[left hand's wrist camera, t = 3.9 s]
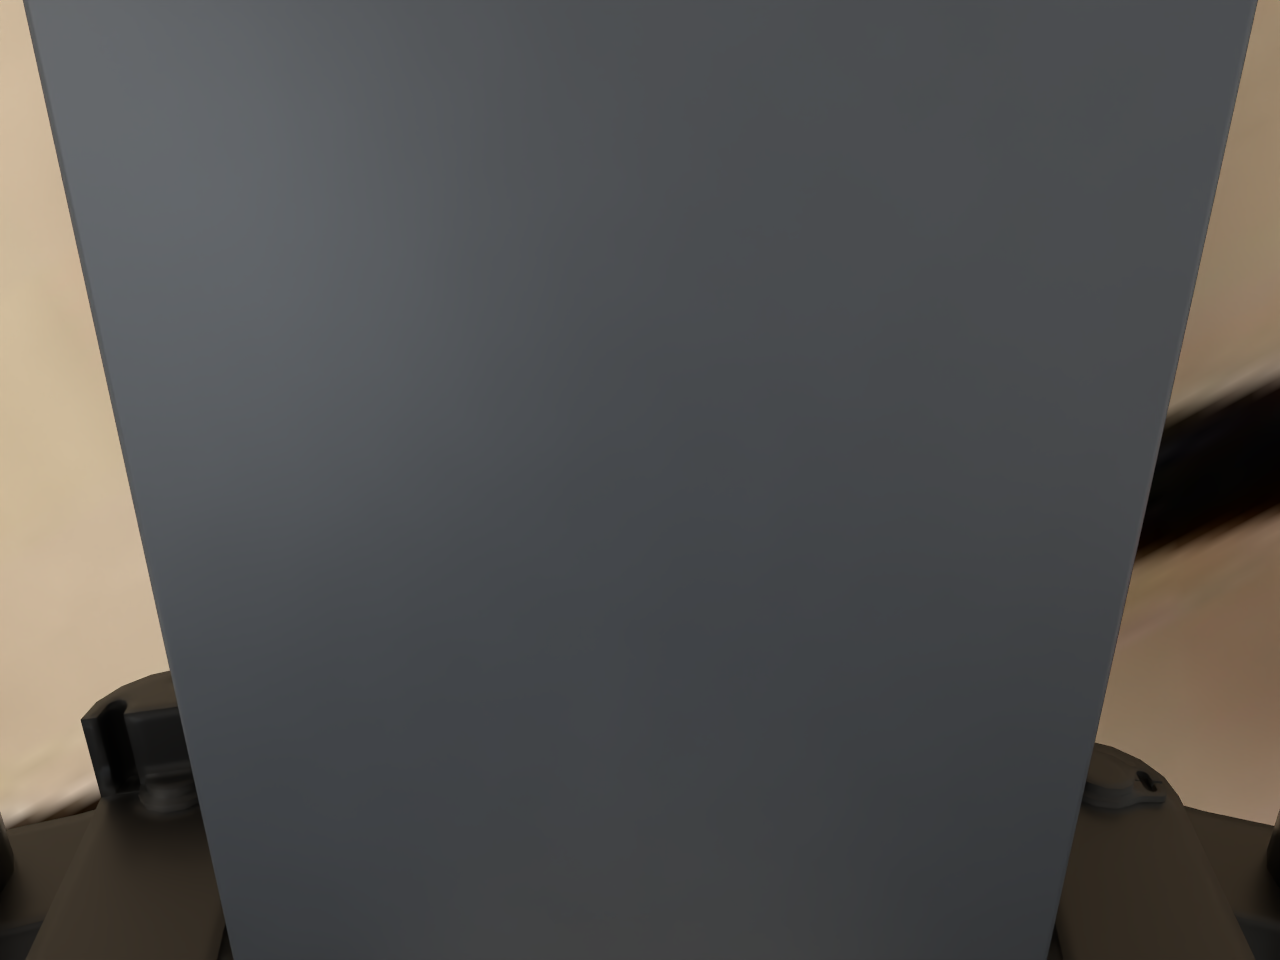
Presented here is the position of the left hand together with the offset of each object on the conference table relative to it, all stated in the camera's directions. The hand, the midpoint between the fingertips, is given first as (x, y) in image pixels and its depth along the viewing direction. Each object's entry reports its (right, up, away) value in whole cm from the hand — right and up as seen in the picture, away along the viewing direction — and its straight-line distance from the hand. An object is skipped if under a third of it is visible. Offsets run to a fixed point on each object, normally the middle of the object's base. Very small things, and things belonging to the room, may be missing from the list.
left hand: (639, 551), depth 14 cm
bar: (0, +7, -2) cm, 8 cm away
